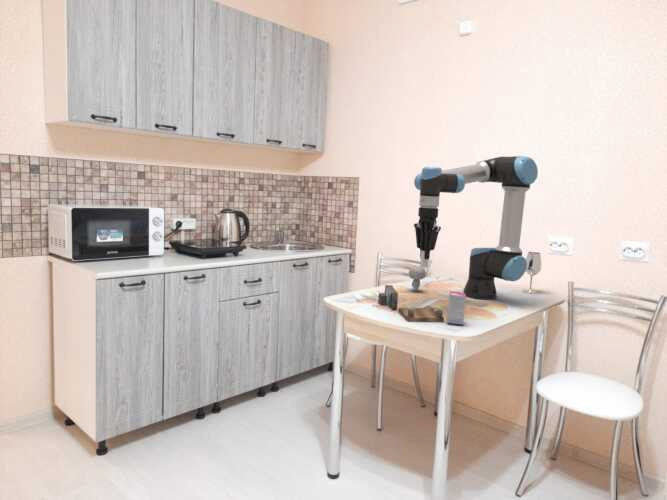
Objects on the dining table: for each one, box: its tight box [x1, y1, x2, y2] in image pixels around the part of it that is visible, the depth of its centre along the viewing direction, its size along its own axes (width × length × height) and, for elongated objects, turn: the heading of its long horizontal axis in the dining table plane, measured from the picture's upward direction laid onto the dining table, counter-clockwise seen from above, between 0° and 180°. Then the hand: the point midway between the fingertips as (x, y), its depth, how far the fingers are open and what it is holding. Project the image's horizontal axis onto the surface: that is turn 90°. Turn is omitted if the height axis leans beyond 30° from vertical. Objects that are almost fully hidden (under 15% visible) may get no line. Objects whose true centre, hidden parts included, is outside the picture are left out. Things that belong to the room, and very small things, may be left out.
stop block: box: [377, 292, 388, 306], centre depth 212 cm, size 2×5×4 cm, turn 7°
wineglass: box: [521, 251, 542, 295], centre depth 251 cm, size 8×8×20 cm
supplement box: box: [446, 291, 467, 327], centre depth 188 cm, size 6×6×12 cm
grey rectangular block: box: [384, 284, 397, 308], centre depth 213 cm, size 14×3×6 cm, turn 3°
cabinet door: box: [390, 291, 445, 323], centre depth 197 cm, size 16×18×7 cm
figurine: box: [408, 265, 426, 293], centre depth 240 cm, size 8×8×12 cm
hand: (423, 266), depth 199 cm, fingers closed
